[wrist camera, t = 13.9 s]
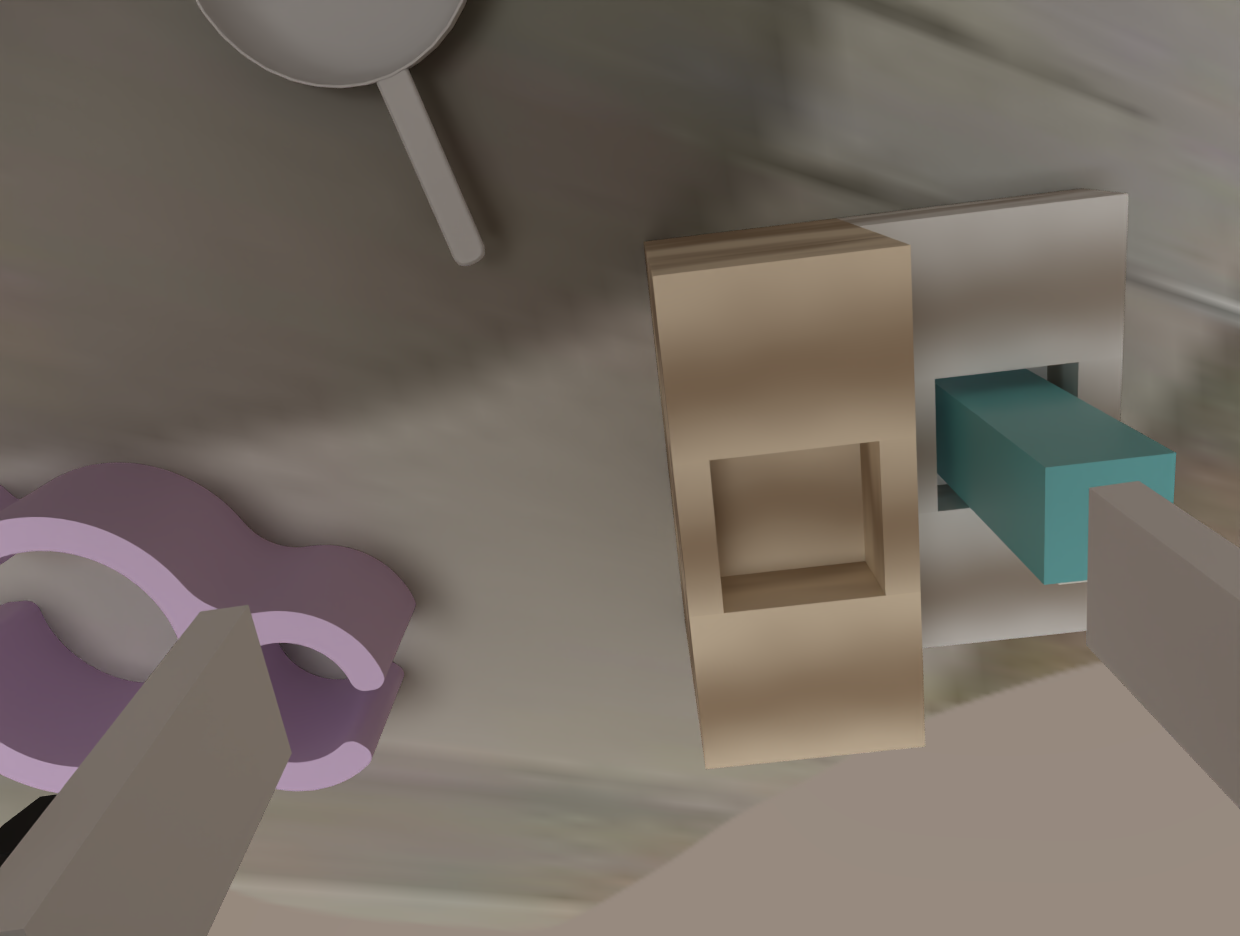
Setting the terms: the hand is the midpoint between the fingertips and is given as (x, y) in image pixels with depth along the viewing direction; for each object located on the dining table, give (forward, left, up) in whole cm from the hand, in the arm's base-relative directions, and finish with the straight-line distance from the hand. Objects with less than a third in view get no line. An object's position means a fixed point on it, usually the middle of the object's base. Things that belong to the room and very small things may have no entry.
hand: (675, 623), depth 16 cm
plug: (+6, +14, -27) cm, 31 cm away
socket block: (+6, +10, -28) cm, 31 cm away
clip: (+11, -22, -29) cm, 38 cm away
